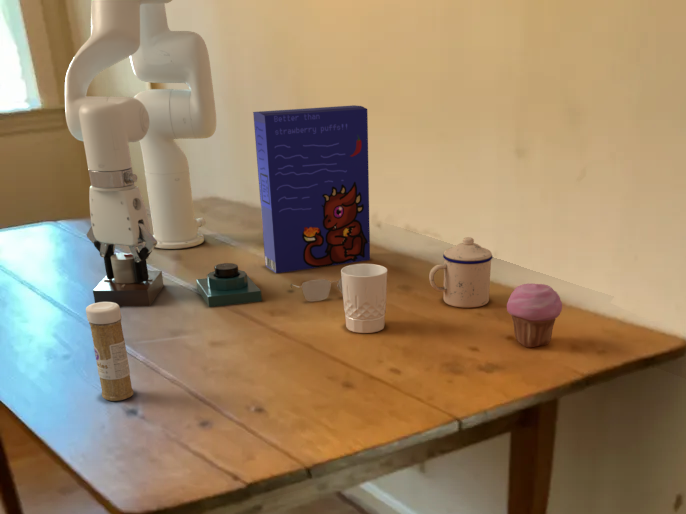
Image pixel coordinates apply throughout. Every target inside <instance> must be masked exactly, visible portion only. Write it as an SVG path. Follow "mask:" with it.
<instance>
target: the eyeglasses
mask: <svg viewBox="0 0 686 514" xmlns="http://www.w3.org/2000/svg"><path fill="white" fill-rule="evenodd" d="M332 283H337V289H338V291H340V293H341V295H342V296H343V291H342V278H341V277H340V278H339V279H338V280H332V281H330V279H327V278H319V279H310V280H307V281H304V282H303V283H301V285H300V286H299V285H296V284H293V283H291V284H290V286H293V287H296V288H299V289H302V294H303V297H304V299H305V300H306V301H307V302H310V303H311V302H313V303H314V302H321V301H325V300H326V299H328V298H329V296H330V292H331V288H332Z"/></svg>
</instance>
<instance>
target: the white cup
mask: <svg viewBox="0 0 686 514" xmlns="http://www.w3.org/2000/svg"><path fill="white" fill-rule="evenodd" d="M340 278H342V291H343V295H342V301H343V310H344V317H345V318H344V319H345V328H346V329H347V330H348V331H350V332H353V333H356V334H357V333H359V334H374V333H377V332H380V331H382V330H384V328H385V325H386V310H387V294H388V292H387V291H388V268H387V267H385V266H383V265H380V264H374V263H354V264H349V265H346V266H344V267H342V268H341V269H340Z"/></svg>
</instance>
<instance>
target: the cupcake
mask: <svg viewBox="0 0 686 514" xmlns="http://www.w3.org/2000/svg"><path fill="white" fill-rule="evenodd" d="M562 310H563V301H562V300H561V297H560V295H559V293H558V291H556V290H555V289H554V288H553V287H551V286H550V285H548V284H545V283H529V282H528V283H523V284H520V285H518V286H516V287H515V288H514V290H513V291H512V292H511V293H510V296H509V297H508V300H507V302H506V311H507V313H508V314H509V315H510V316H511V319H512V324H513V331H514V335H515V340H516V341H517V342H518V343H519V344H521V345H522V346H523V347H526V348H534V347H538V346H544V345H548V344H549V343H550V342H551V340H552V335H553V329H554V325H555V322H556V319H557V318H558V317H559V316H560V315H561V312H562Z"/></svg>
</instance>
